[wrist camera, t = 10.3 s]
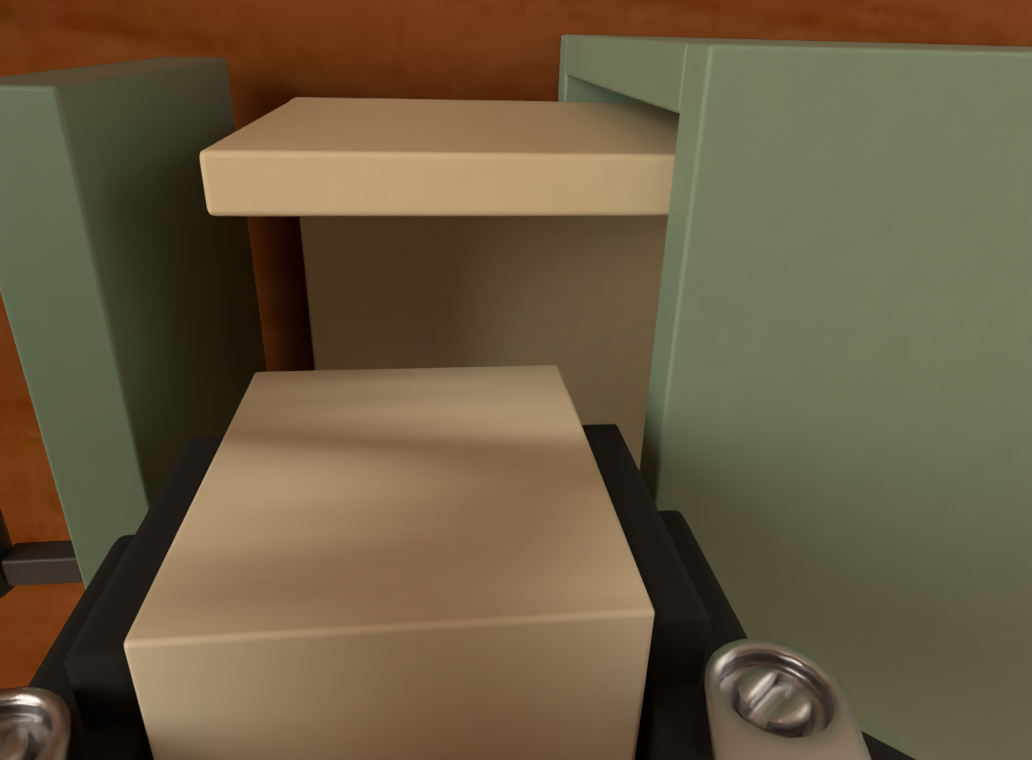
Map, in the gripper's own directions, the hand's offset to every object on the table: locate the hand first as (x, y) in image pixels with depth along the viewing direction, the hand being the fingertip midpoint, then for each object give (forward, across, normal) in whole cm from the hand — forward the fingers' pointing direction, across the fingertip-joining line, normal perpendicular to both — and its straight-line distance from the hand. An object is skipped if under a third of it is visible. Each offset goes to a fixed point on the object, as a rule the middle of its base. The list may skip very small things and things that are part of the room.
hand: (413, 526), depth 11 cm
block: (+1, 0, 0) cm, 1 cm away
